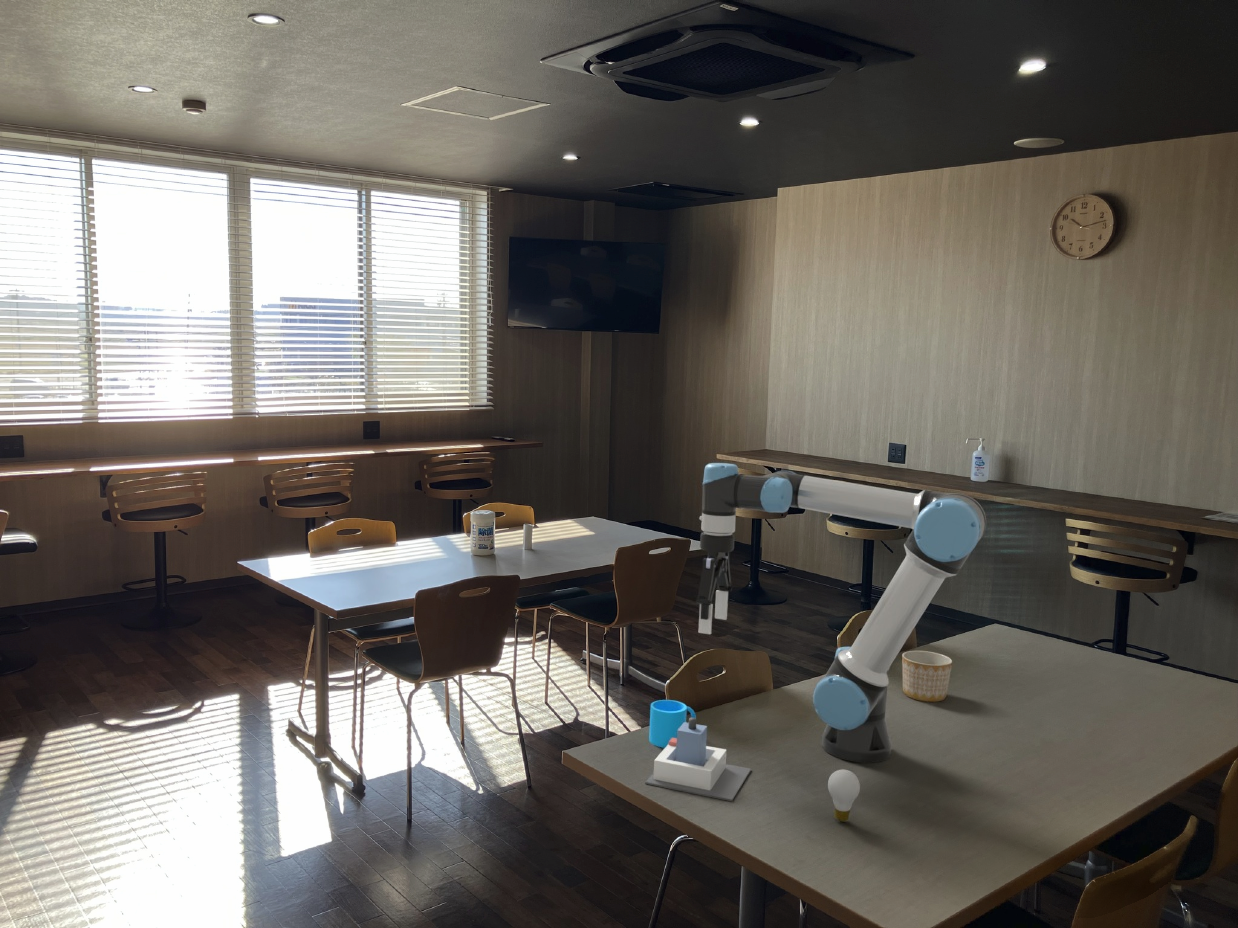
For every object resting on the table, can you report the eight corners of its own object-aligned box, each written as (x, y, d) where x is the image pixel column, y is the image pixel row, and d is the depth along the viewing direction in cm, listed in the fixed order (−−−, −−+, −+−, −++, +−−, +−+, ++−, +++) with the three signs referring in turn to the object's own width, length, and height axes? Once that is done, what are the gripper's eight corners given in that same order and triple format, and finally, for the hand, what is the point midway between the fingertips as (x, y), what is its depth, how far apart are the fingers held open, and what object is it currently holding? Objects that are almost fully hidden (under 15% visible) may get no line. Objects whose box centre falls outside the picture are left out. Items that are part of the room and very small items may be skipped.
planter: (954, 694, 256) (957, 656, 255) (942, 707, 245) (945, 668, 244) (907, 684, 263) (909, 647, 262) (893, 696, 252) (896, 658, 251)
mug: (663, 750, 210) (665, 715, 210) (642, 738, 217) (643, 703, 216) (705, 740, 217) (707, 705, 216) (683, 728, 224) (685, 694, 223)
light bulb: (821, 814, 183) (824, 763, 182) (851, 814, 184) (854, 764, 183) (831, 828, 177) (834, 777, 176) (861, 828, 178) (865, 777, 177)
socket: (750, 770, 202) (752, 746, 201) (731, 801, 187) (733, 775, 186) (670, 754, 208) (671, 731, 208) (645, 783, 193) (646, 758, 193)
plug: (705, 762, 200) (707, 716, 199) (698, 772, 195) (701, 724, 194) (682, 758, 201) (684, 712, 200) (675, 767, 197) (677, 720, 196)
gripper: (715, 523, 225) (711, 611, 228) (685, 539, 202) (680, 637, 204) (747, 526, 223) (742, 615, 225) (719, 543, 200) (714, 641, 202)
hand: (712, 625), depth 215 cm, fingers open, 13 cm apart
